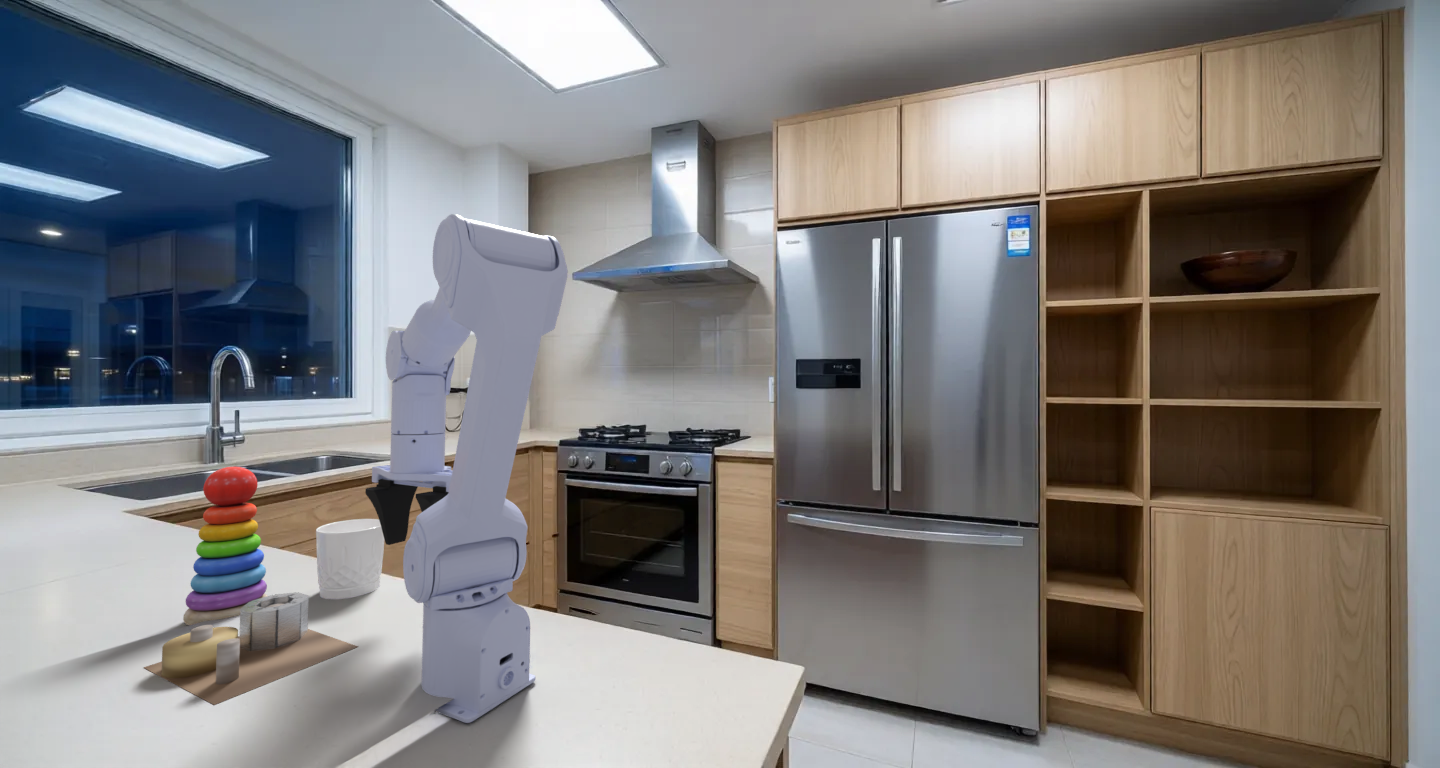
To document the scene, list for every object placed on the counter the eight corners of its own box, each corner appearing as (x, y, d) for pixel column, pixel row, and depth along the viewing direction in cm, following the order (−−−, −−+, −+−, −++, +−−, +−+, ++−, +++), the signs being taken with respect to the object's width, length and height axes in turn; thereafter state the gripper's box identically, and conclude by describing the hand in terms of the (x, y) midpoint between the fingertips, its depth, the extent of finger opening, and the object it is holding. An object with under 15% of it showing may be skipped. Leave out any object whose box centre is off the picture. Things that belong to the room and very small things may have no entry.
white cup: (302, 602, 72) (304, 527, 72) (364, 584, 79) (365, 516, 79) (333, 614, 68) (335, 535, 68) (396, 594, 75) (397, 523, 75)
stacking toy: (285, 606, 70) (290, 463, 71) (223, 632, 63) (228, 472, 63) (231, 603, 71) (236, 462, 72) (163, 629, 63) (169, 470, 64)
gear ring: (316, 633, 60) (317, 597, 60) (258, 654, 55) (259, 615, 55) (288, 624, 62) (289, 589, 62) (230, 643, 57) (232, 606, 57)
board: (358, 657, 57) (359, 613, 57) (213, 718, 46) (215, 663, 46) (285, 631, 63) (286, 591, 63) (143, 679, 52) (144, 631, 52)
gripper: (489, 433, 65) (486, 546, 64) (411, 429, 71) (408, 531, 71) (436, 437, 58) (433, 562, 58) (355, 432, 65) (352, 545, 64)
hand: (416, 546), depth 64 cm, fingers open, 7 cm apart
